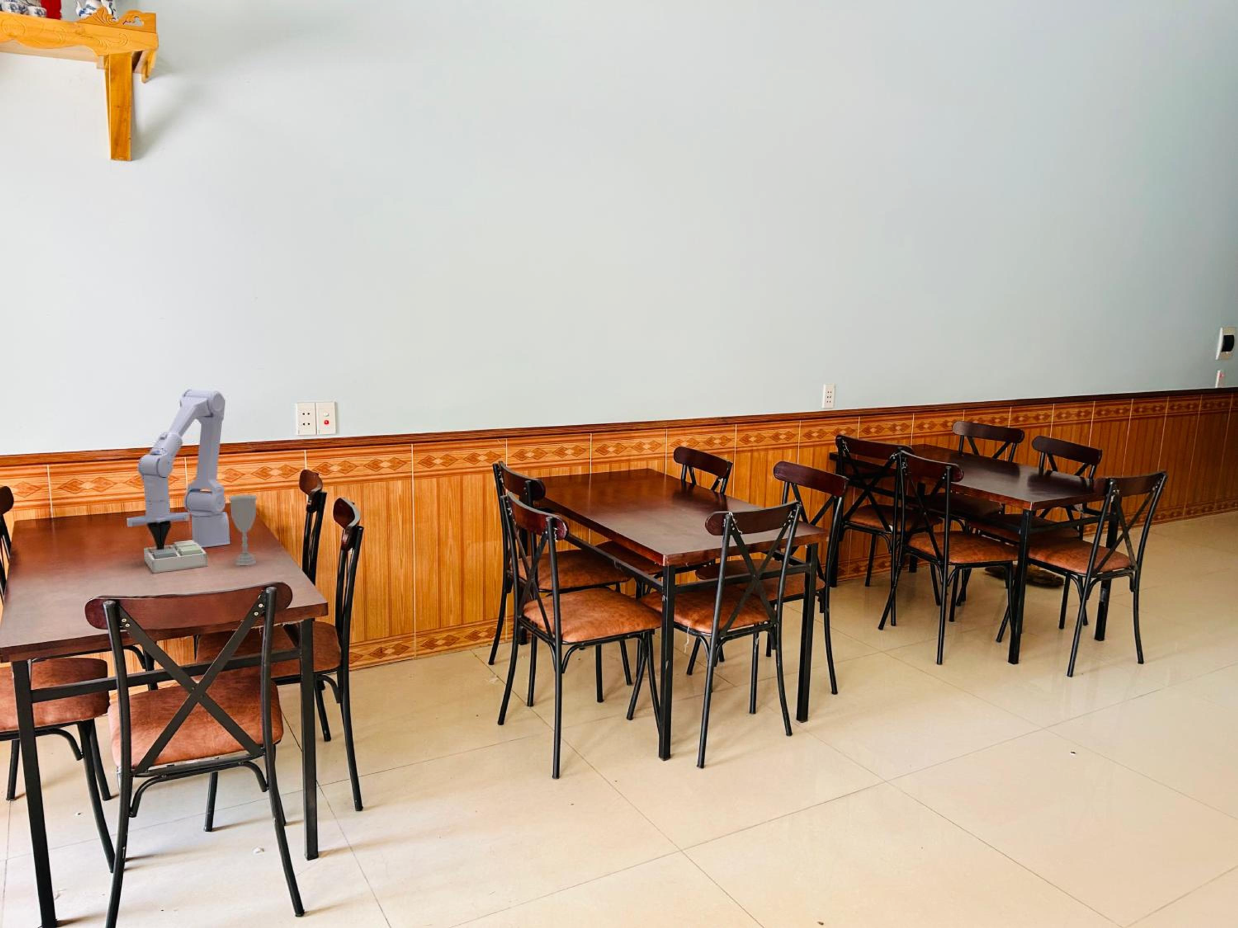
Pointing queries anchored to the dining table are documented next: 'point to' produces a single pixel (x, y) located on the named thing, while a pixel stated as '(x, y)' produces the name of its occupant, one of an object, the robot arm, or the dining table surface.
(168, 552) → the key slate
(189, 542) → the key ivory
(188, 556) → the keypad
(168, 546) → the key terracotta
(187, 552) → the key sage
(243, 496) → the chalice
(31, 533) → the dining table surface
